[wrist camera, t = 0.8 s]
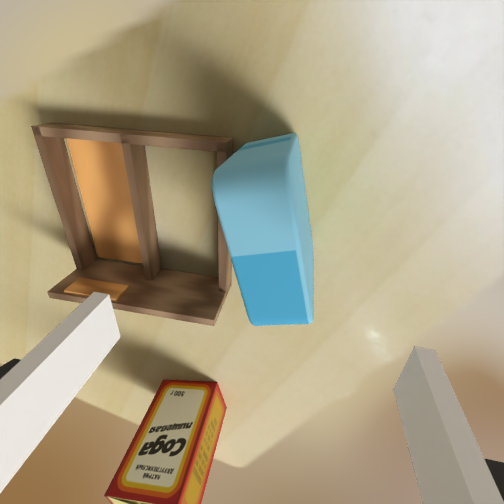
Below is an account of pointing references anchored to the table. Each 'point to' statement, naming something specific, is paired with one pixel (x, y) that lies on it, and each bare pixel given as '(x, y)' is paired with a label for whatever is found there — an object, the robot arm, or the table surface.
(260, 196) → the blue rounded block
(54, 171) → the rack
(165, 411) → the baking soda box
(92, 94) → the table surface
